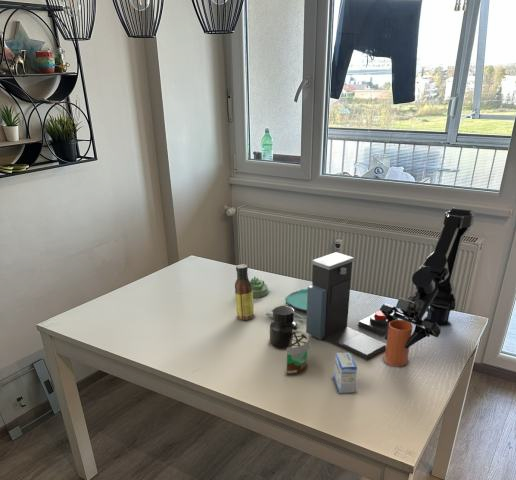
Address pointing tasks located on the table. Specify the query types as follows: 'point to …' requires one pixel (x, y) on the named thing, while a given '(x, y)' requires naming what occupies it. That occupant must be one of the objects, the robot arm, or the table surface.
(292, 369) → the food container
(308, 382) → the table surface
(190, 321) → the table surface
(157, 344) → the table surface
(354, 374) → the medicine box
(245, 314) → the sauce bottle
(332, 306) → the coffee maker
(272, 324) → the ink bottle
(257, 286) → the decorative artifact
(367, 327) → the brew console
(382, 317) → the button
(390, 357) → the cup
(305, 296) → the cutlery set
